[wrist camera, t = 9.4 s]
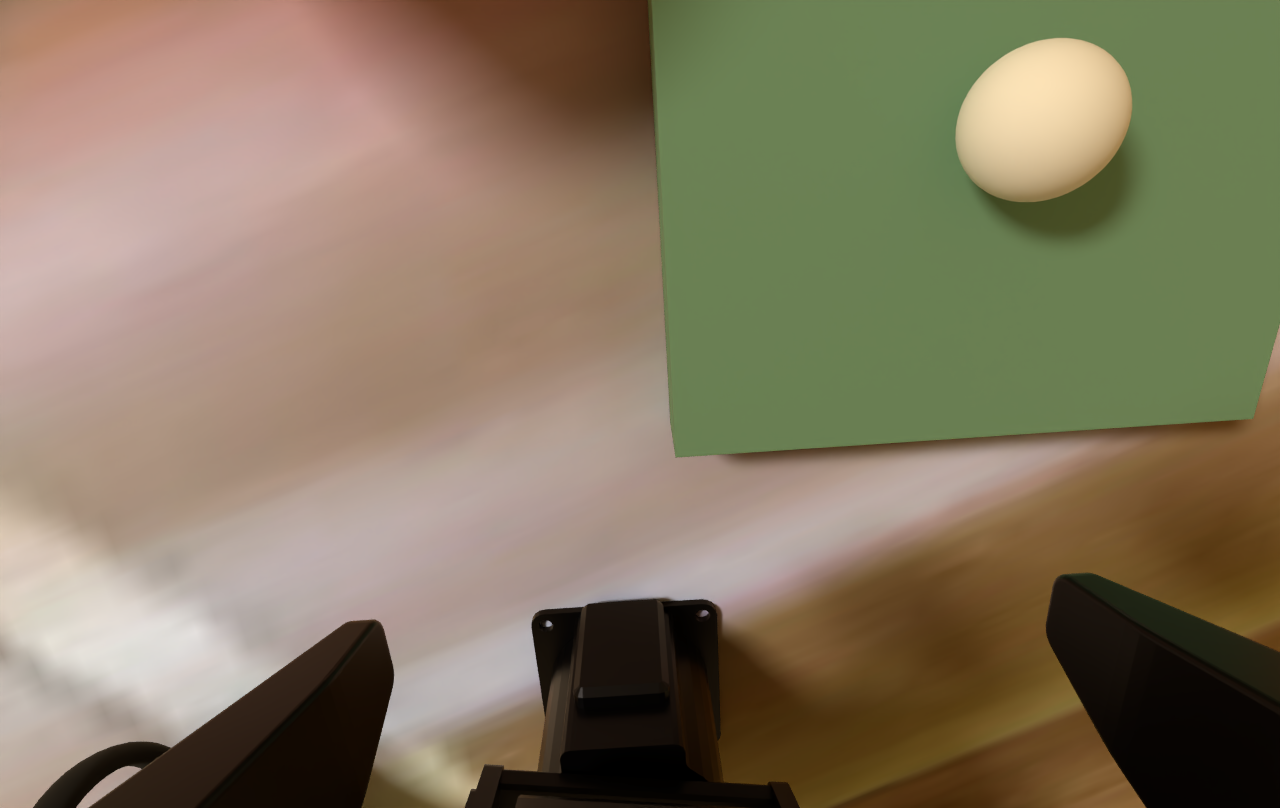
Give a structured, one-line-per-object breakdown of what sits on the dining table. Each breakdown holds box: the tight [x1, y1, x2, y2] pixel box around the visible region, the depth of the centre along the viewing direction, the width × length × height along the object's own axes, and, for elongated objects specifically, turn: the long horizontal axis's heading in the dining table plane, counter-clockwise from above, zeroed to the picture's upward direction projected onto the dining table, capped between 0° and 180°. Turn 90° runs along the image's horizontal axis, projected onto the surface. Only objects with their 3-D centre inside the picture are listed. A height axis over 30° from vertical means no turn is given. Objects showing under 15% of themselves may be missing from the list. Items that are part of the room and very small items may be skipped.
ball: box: [955, 38, 1132, 202], centre depth 14 cm, size 3×3×3 cm
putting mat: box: [648, 0, 1280, 457], centre depth 16 cm, size 20×16×2 cm
